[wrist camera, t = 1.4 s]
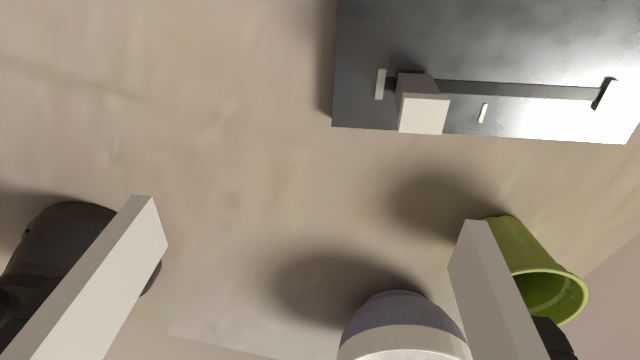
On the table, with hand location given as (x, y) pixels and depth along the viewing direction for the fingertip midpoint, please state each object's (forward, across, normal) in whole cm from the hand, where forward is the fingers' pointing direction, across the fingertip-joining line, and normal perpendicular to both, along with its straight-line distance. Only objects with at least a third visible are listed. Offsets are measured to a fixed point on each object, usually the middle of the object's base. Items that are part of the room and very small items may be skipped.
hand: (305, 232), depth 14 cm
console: (+18, +12, +4) cm, 22 cm away
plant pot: (+18, +18, -16) cm, 31 cm away
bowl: (+18, +10, -31) cm, 38 cm away
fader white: (+16, +6, 0) cm, 17 cm away
